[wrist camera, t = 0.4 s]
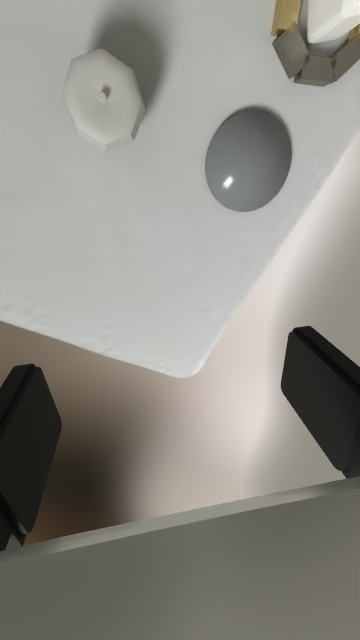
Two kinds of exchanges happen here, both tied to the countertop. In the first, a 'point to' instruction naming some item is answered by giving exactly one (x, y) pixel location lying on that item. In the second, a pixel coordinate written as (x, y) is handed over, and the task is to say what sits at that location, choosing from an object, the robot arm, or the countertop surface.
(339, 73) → the collar
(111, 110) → the octagonal pegged knob
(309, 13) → the salt shaker
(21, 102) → the countertop surface
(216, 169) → the gray glossy dome
